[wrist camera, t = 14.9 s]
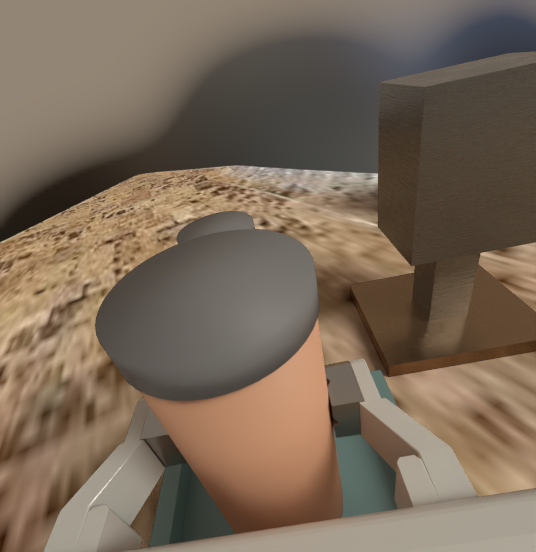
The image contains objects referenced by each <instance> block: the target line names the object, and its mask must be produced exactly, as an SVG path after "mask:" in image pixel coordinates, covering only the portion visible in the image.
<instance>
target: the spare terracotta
mask: <svg viewBox="0 0 536 552" xmlns="http://www.w3.org/2000/svg"><path fill="white" fill-rule="evenodd" d="M318 313H319V295H318V287H317V280H316V272H315V265H314V261H313V257H312V255H311V254H310V252H309V250H308V249H307V248H306V247H305V246H304V245H303V244H302V243H301V242H299V241H298V240H296V239H294V238H293V237H290V236H288V235H285V234H282V233H279V232H275V231H269V230H259V229H242V230H231V231H223V232H218V233H213V234H209V235H204V236H201V237H198V238H194V239H191V240H188V241H185V242H183V243H180V244H178V245H175V246H173V247H171V248H168V249H166V250H164V251H162V252H160V253H158V254H156V255H155V256H153V257H151V258H149V259H148V260H146V261H144V262H143V263H141V264H140V265H138V266H137V267H136V268H134V269H133V270H132V271H130V272H129V273H128V274H127V275H125V276H124V277H123V278H122V279H121V280H120V281H119V282H118V283H117V284H116V285H115V286H114V287H113V288H112V290H111V291H110V292H109V293H108V295H107V296H106V297H105V299H104V300H103V302H102V304H101V306H100V308H99V311H98V314H97V317H96V324H95V329H96V335H97V338H98V340H99V343H100V344H101V345H102V347H103V348H104V350H105V351H106V353H107V354H108V356H109V357H110V358H111V360H112V361H113V363H114V364H115V366H116V367H117V369H118V370H119V371H120V373H121V374H122V376H123V377H124V378H125V379H126V381H127V382H128V383H129V384H130V385H132V386H133V387H134V388H135V389H137V390H139V392H140V393H141V395H142V396H143V398H144V399H145V401H146V402H147V404H148V405H149V407H150V408H151V409H152V411H153V412H154V414H155V415H156V417H157V418H158V420H159V421H160V423H161V424H162V426H163V427H164V429H165V430H166V432H167V433H168V435H169V436H170V438H171V439H172V441H173V442H174V444H175V445H176V446H177V448H178V449H179V451H180V452H181V454H182V455H183V457H184V458H185V460H186V461H187V463H188V464H189V466H190V467H191V469H192V470H193V472H194V473H195V475H196V476H197V478H198V479H199V481H200V482H201V483H202V485H203V486H204V488H205V489H206V491H207V492H208V494H209V495H210V497H211V498H212V500H213V501H214V503H215V504H216V506H217V507H218V509H219V510H220V512H221V513H222V515H223V516H224V518H225V519H226V520H227V522H228V523H229V525H230V526H231V528H232V529H233V531H234V532H235V534H239V533H246V532H252V531H259V530H265V529H272V528H278V527H285V526H292V525H298V524H305V523H311V522H318V521H324V520H331V519H337V518H342V514H343V493H342V486H341V479H340V472H339V465H338V458H337V451H336V444H335V437H334V430H333V423H332V417H331V409H330V402H329V395H328V388H327V381H326V374H325V367H324V360H323V352H322V345H321V338H320V331H319V324H318Z"/></svg>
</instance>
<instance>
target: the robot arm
mask: <svg viewBox="0 0 536 552" xmlns="http://www.w3.org/2000/svg"><path fill="white" fill-rule="evenodd" d="M324 367H325V374H326V381H327V388H328V395H329V402H330V409H331V417H332V423H333V427H334V431H335V435H336V438H339V437H347V436H354V435H361V436H362V437H363V438H364V439H365V440H366V441H367V442H368V443H369V444H370V445H371V446H372V447H373V449H374V450H375V451H376V452H377V453H378V454H379V455H380V456H381V457H382V458H383V459H384V460H385V461H386V462H387V463H388V464H389V465H390V466H391V467H392V468H393V469H394V470H395V471H396V484H395V497H394V500H395V503H396V506H397V509H396V510H389V511H383V512H376V513H370V514H363V515H357V516H350V517H344V518H337V519H331V520H324V521H318V522H311V523H305V524H298V525H292V526H285V527H278V528H272V529H265V530H259V531H252V532H246V533H239V534H233V535H226V536H220V537H213V538H207V539H200V540H194V541H187V542H181V543H174V544H168V545H161V546H154V547H148V548H141V543H142V537H141V536H140V534H139V533H138V532H136V531H135V530H134V529H133V528H132V527H131V526H130V525H131V524H132V522H133V520H134V519H135V517H136V516H137V514H138V512H139V511H140V509H141V508H142V506H143V504H144V503H145V501H146V500H147V498H148V496H149V495H150V493H151V491H152V490H153V488H154V487H155V485H156V483H157V482H158V480H159V479H160V477H161V475H162V474H163V472H164V470H165V467H169V466H174V465H179V464H184V463H187V461H186V460H185V458H184V457H183V455H182V454H181V452H180V451H179V449H178V448H177V446H176V445H175V444H174V442H173V441H172V439H171V438H170V436H169V435H168V433H167V432H166V430H165V429H164V427H163V426H162V424H161V423H160V421H159V420H158V418H157V417H156V415H155V414H154V412H153V411H152V409H151V408H150V407H149V405H148V404H147V402H146V401H145V399H144V398H140V400H139V401H138V402H137V405H136V408H135V411H134V414H133V417H132V420H131V423H130V426H129V430H128V433H127V436H126V439H125V442H124V443H121V444H119V445H118V447H117V448H116V449H115V450H114V451H113V452H112V453H111V455H110V456H109V457H108V458H107V459H106V460H105V461H104V462H103V464H102V465H101V466H100V467H99V468H98V469H97V470H96V471H95V473H94V474H93V475H92V476H91V477H90V478H89V479H88V480H87V482H86V483H85V484H84V485H83V486H82V487H81V488H80V489H79V491H78V492H77V493H76V494H75V495H74V496H73V497H72V498H71V500H70V501H69V502H68V503H67V504H66V505H65V506H64V507H63V509H62V510H61V511H60V513H59V516H58V518H57V521H56V523H55V525H54V528H53V530H52V532H51V535H50V537H49V539H48V542H47V544H46V547H45V549H44V551H43V552H536V488H533V489H527V490H520V491H514V492H507V493H501V494H494V495H488V496H481V497H478V495H477V493H476V492H475V490H474V488H473V486H472V484H471V483H470V481H469V479H468V477H467V475H466V473H465V472H464V470H463V468H462V466H461V464H460V463H459V461H458V459H457V457H456V455H455V453H454V452H453V450H452V448H451V447H450V446H448V445H447V444H446V443H444V442H443V441H442V440H440V439H439V438H438V437H436V436H435V435H434V434H432V433H431V432H430V431H429V430H427V429H426V428H425V427H423V426H422V425H421V424H419V423H418V422H417V421H415V420H414V419H413V418H411V417H410V416H409V415H407V414H406V413H405V412H403V411H402V410H401V409H399V408H398V407H397V406H395V405H394V404H393V403H392V402H390V401H389V400H388V399H386V398H381V397H380V395H379V392H378V390H377V388H376V385H375V383H374V380H373V378H372V376H371V373H370V371H369V369H368V366H367V364H366V361H365V360H364V359H363V358H362V359H357V360H351V361H344V362H339V363H334V364H329V365H324ZM140 548H141V549H140Z"/></svg>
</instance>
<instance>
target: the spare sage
mask: <svg viewBox="0 0 536 552" xmlns="http://www.w3.org/2000/svg"><path fill="white" fill-rule="evenodd" d="M242 229H255V227H254V222H253V218H252V217H251V216H250V215H249V214H247V213H244V212H239V211H228V212H220V213H215V214H211V215H208V216H205V217H202V218H200V219H198V220H195V221H193V222H192V223H190V224H188V225H187V226H185V227H184V228H183V229H182V230H181V231H180V232H179V233H178V235H177V242H178V244H180V243H183V242H185V241H188V240H191V239H194V238H198V237H201V236H204V235H209V234H213V233H218V232H223V231H231V230H242Z"/></svg>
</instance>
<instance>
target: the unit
mask: <svg viewBox="0 0 536 552" xmlns="http://www.w3.org/2000/svg"><path fill="white" fill-rule="evenodd" d="M378 127H379V128H378V129H379V131H378V133H379V135H378V228H379V229H380V230H381V231H382V232H383V233H384V235H385V236H386V237H387V238H388V239H389V240H390V242H391V243H392V244H393V245H394V246H395V248H396V249H397V250H398V251H399V252H400V253H401V255H402V256H403V257H404V258H405V259H406V260H407V262H408V263H409V264H410V265H411V266H415V270H414V273H410V274H405V275H400V276H395V277H389V278H384V279H379V280H374V281H369V282H363V283H358V284H353V285H350V295H351V297H352V300H353V302H354V304H355V306H356V308H357V310H358V312H359V314H360V317H361V319H362V321H363V323H364V325H365V327H366V329H367V331H368V333H369V336H370V338H371V340H372V342H373V344H374V346H375V348H376V350H377V353H378V355H379V357H380V359H381V361H382V363H383V365H384V367H385V370H386V372H387V374H388V376H389V377H391V376H397V375H402V374H408V373H414V372H419V371H425V370H431V369H437V368H442V367H448V366H454V365H459V364H465V363H471V362H476V361H482V360H488V359H493V358H499V357H505V356H511V355H516V354H522V353H528V352H533V351H536V312H535V311H534V310H533V309H531V308H530V307H529V306H528V305H527V304H525V303H524V302H523V301H522V300H521V299H519V298H518V297H517V296H516V295H515V294H513V293H512V292H511V291H510V290H509V289H507V288H506V287H505V286H504V285H503V284H501V283H500V282H499V281H498V280H497V279H495V278H494V277H493V276H492V275H491V274H489V273H488V272H487V271H486V270H485V269H483V268H482V267H481V266H480V265H479V264H478V262H479V258H480V253H482V252H487V251H492V250H498V249H503V248H508V247H513V246H518V245H524V244H529V243H534V242H536V52H522V53H508V54H504V55H499V56H495V57H490V58H486V59H481V60H477V61H473V62H468V63H463V64H459V65H454V66H450V67H445V68H441V69H436V70H432V71H427V72H423V73H418V74H414V75H410V76H405V77H401V78H396V79H392V80H387V81H383V82H379V125H378Z"/></svg>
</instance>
